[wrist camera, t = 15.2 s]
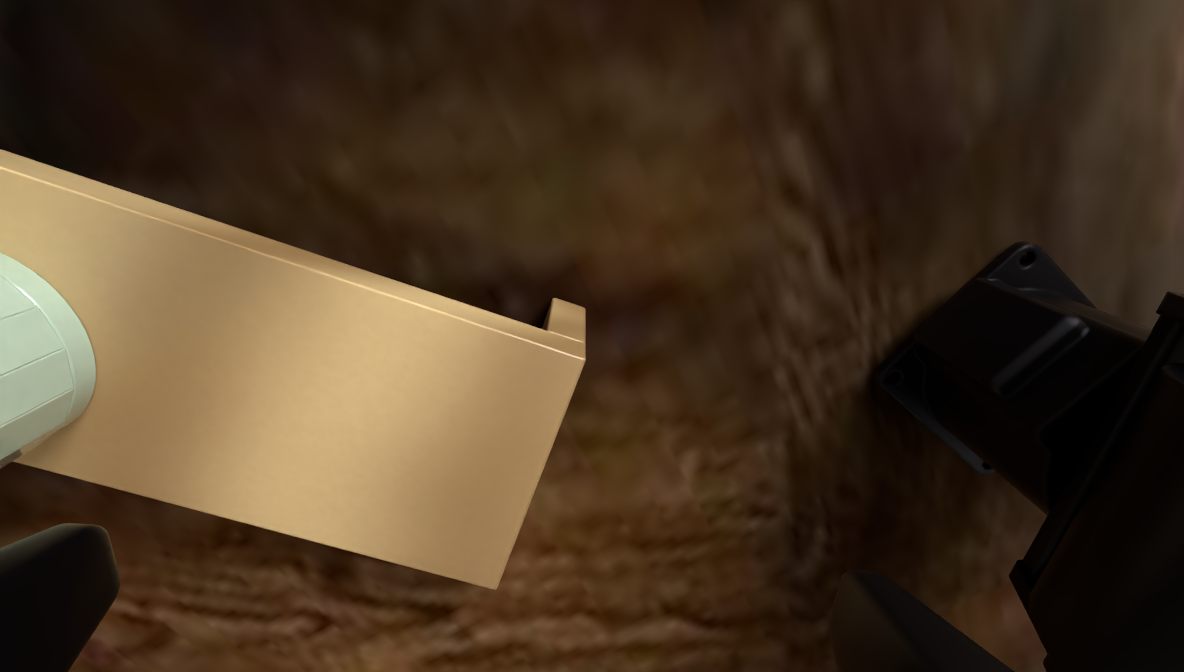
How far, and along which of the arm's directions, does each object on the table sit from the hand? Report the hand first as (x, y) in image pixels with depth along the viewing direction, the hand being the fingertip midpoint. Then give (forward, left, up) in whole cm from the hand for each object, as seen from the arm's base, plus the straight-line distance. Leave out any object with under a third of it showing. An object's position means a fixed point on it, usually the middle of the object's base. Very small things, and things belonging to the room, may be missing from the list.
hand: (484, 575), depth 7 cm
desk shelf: (+6, +7, -13) cm, 16 cm away
